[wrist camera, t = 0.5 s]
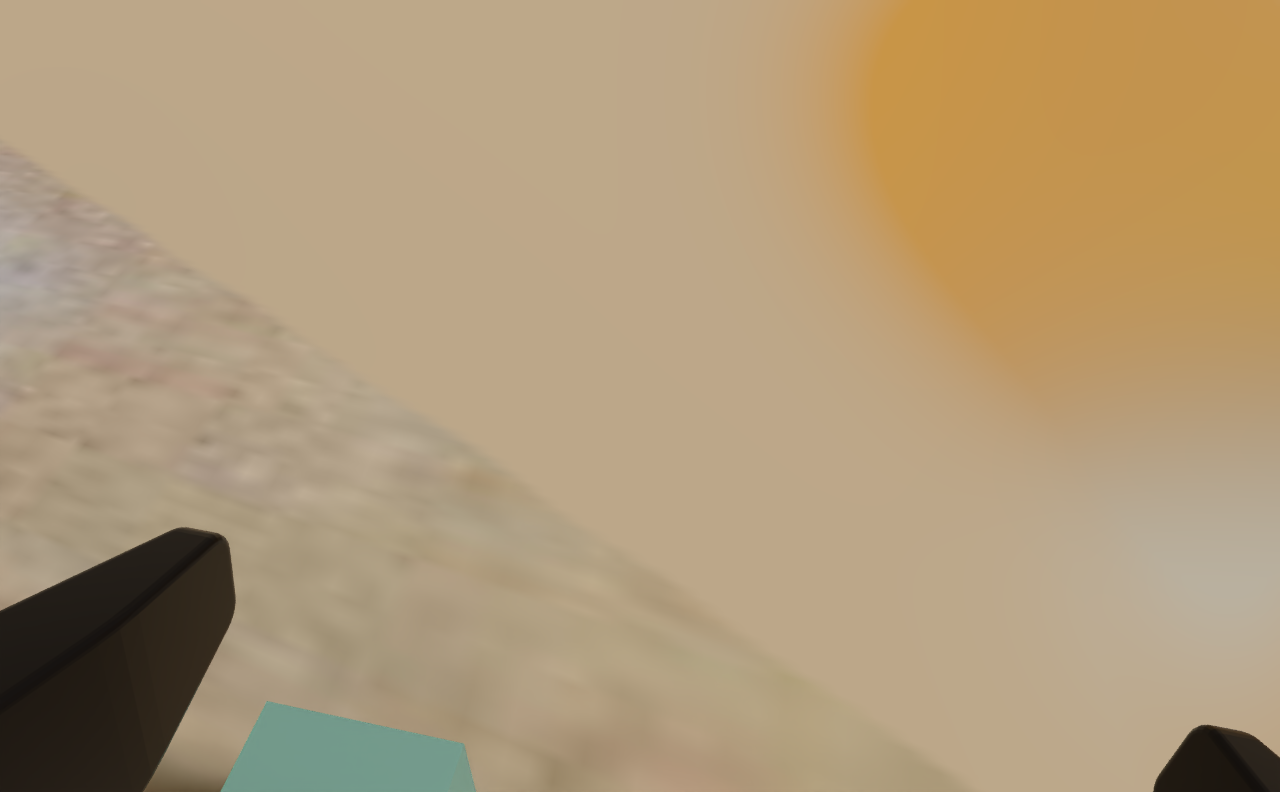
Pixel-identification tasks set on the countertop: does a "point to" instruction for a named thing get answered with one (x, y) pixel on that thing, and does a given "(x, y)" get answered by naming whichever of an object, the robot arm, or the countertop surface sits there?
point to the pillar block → (343, 757)
